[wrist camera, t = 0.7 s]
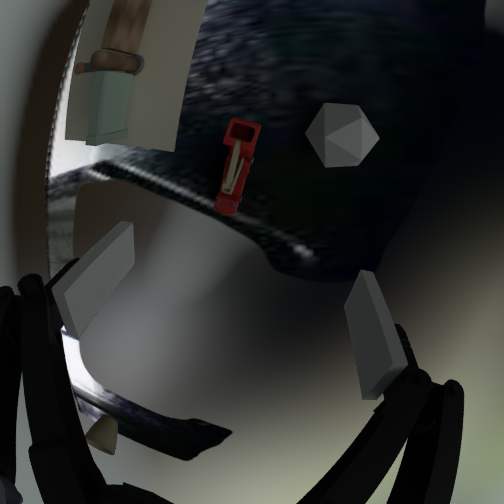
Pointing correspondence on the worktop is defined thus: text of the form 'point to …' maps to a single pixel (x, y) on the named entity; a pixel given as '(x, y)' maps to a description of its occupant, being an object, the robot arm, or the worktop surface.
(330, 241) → the worktop surface
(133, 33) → the base
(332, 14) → the worktop surface
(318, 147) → the die
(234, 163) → the toy fire truck
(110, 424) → the plant pot
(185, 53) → the card
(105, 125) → the green rectangular block
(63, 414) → the robot arm
